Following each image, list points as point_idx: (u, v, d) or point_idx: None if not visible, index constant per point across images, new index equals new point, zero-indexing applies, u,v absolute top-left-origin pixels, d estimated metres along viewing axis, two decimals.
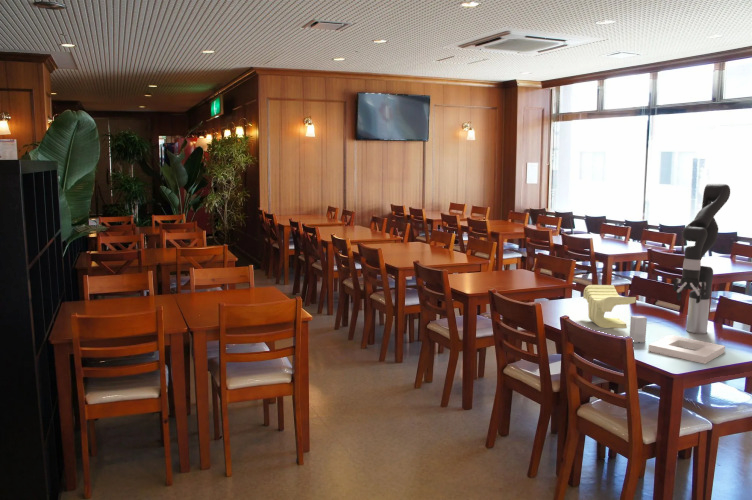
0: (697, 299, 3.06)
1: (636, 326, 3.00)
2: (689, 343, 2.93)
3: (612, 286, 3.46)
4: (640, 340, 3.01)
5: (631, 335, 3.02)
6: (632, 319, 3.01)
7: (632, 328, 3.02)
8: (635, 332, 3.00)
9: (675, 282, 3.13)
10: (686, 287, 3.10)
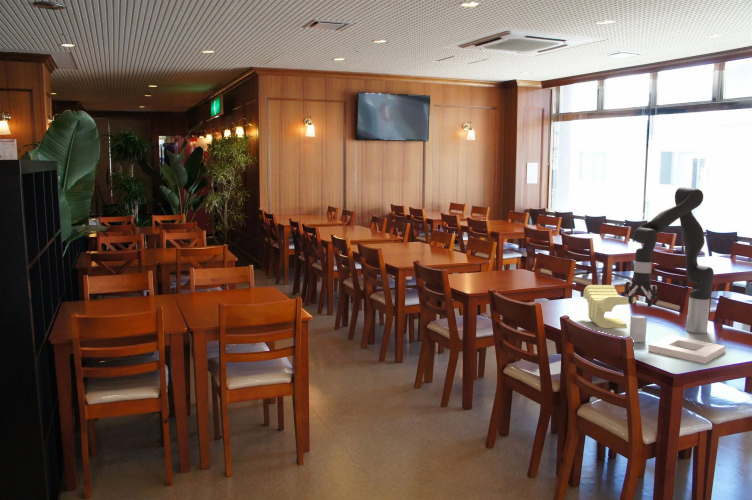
0: (648, 303, 2.96)
1: (636, 326, 3.00)
2: (689, 343, 2.93)
3: (612, 286, 3.46)
4: (640, 340, 3.01)
5: (631, 335, 3.02)
6: (632, 319, 3.01)
7: (632, 328, 3.02)
8: (635, 332, 3.00)
9: (626, 285, 3.03)
10: (637, 290, 2.99)
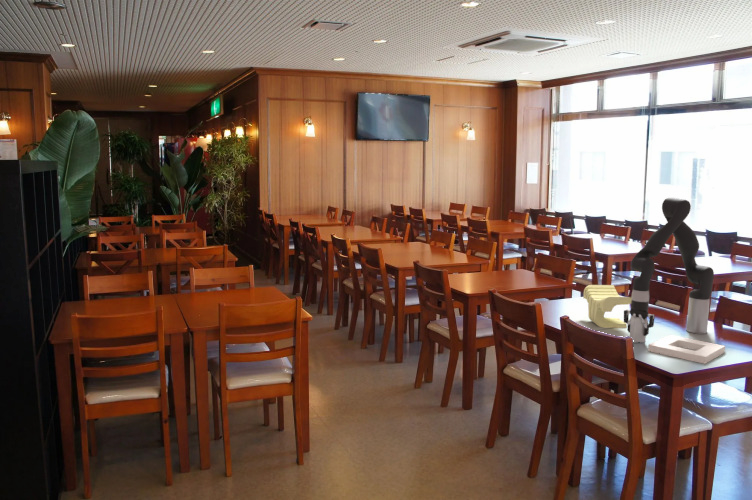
0: (645, 332, 2.99)
1: (636, 326, 3.00)
2: (689, 343, 2.93)
3: (612, 286, 3.46)
4: (640, 340, 3.01)
5: (631, 335, 3.02)
6: (632, 319, 3.01)
7: (632, 328, 3.02)
8: (635, 332, 3.00)
9: (625, 314, 3.05)
10: None
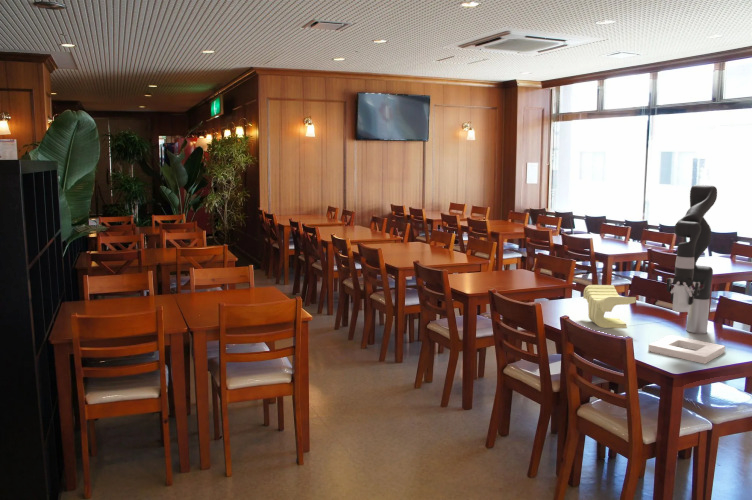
0: (690, 300, 2.84)
1: (680, 295, 2.85)
2: (689, 343, 2.93)
3: (612, 286, 3.46)
4: (684, 309, 2.86)
5: (674, 304, 2.88)
6: (676, 287, 2.86)
7: (675, 297, 2.87)
8: (679, 300, 2.85)
9: (668, 282, 2.90)
10: None
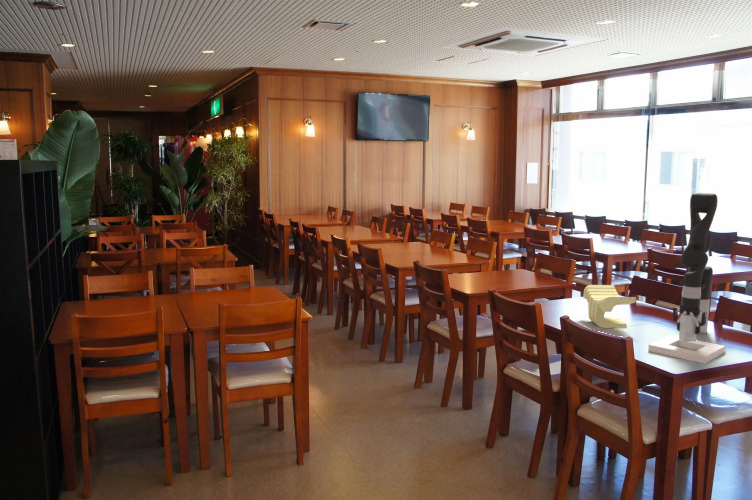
0: (696, 330, 2.83)
1: (687, 325, 2.84)
2: (689, 343, 2.93)
3: (612, 286, 3.46)
4: (691, 339, 2.85)
5: (681, 334, 2.87)
6: (682, 317, 2.85)
7: (682, 326, 2.86)
8: (686, 330, 2.84)
9: (674, 311, 2.89)
10: None
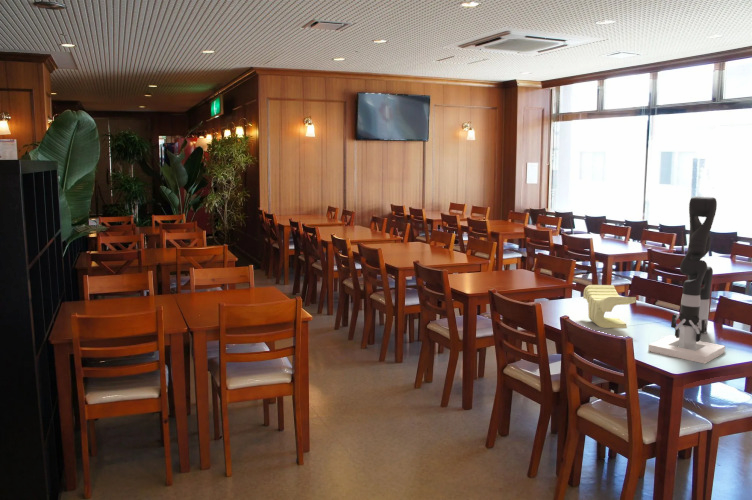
0: (697, 338, 2.83)
1: (686, 336, 2.85)
2: None
3: (612, 286, 3.46)
4: None
5: (680, 345, 2.88)
6: (682, 328, 2.86)
7: (682, 337, 2.87)
8: (685, 341, 2.85)
9: (673, 318, 2.90)
10: (685, 324, 2.86)
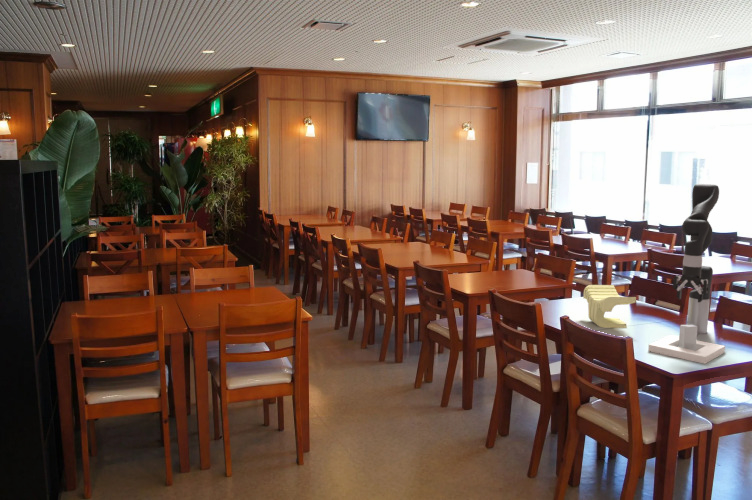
0: (699, 298, 2.83)
1: (686, 336, 2.85)
2: None
3: (612, 286, 3.46)
4: None
5: (680, 345, 2.88)
6: (682, 328, 2.86)
7: (682, 337, 2.87)
8: (685, 341, 2.85)
9: (675, 280, 2.89)
10: (687, 285, 2.86)
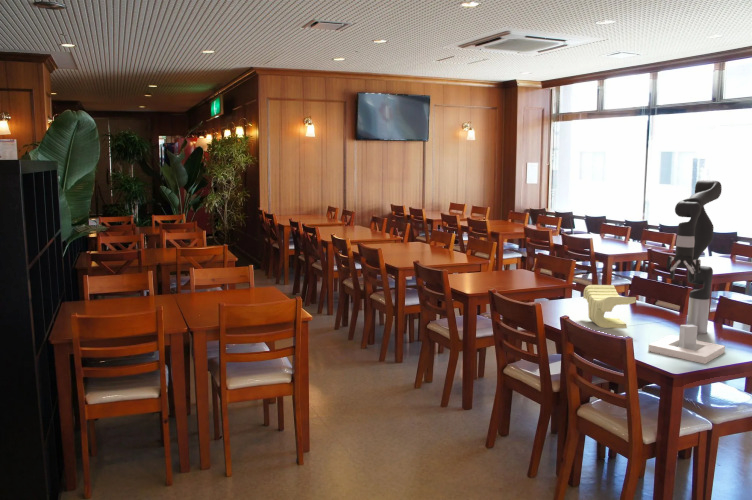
0: (691, 277, 2.92)
1: (686, 336, 2.85)
2: None
3: (612, 286, 3.46)
4: None
5: (680, 345, 2.88)
6: (682, 328, 2.86)
7: (682, 337, 2.87)
8: (685, 341, 2.85)
9: (668, 260, 2.99)
10: (680, 265, 2.95)
